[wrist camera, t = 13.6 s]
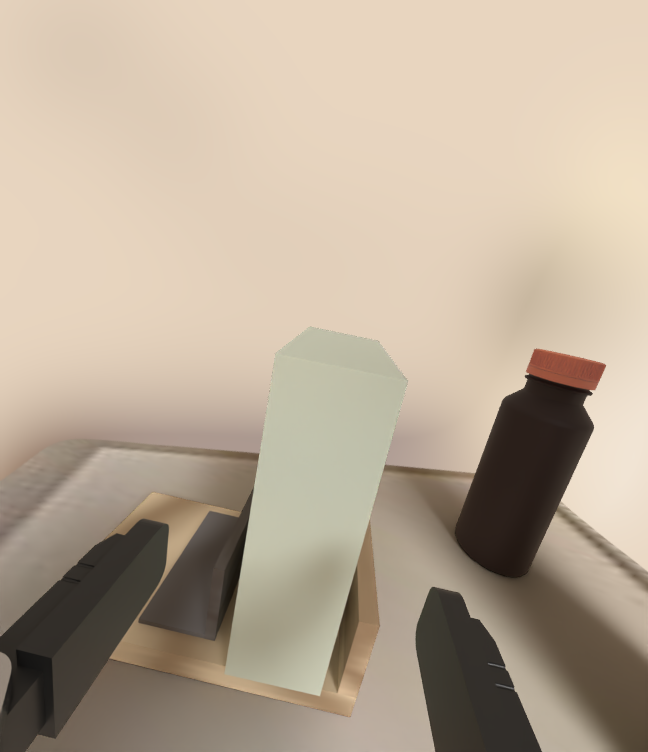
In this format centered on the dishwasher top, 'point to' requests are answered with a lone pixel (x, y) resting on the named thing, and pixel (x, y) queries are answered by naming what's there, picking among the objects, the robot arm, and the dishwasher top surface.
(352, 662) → the rack
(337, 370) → the book
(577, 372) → the bottle
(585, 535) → the dishwasher top surface
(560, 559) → the dishwasher top surface
